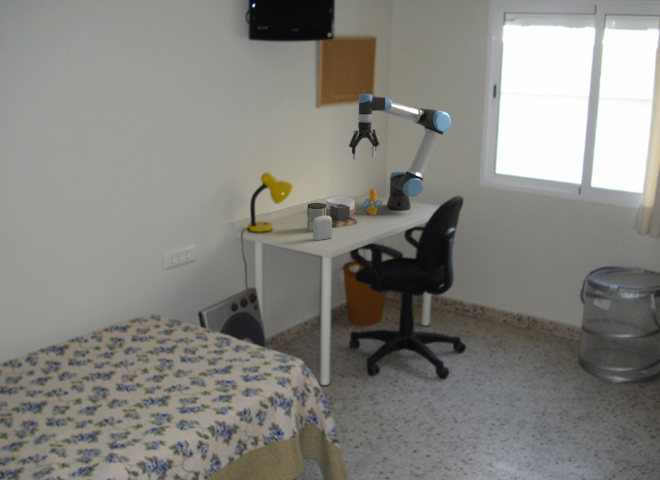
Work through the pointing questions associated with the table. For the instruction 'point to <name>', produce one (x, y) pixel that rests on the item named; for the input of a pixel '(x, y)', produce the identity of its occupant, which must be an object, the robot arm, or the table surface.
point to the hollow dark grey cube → (340, 212)
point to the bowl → (340, 200)
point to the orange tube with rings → (372, 203)
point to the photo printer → (322, 228)
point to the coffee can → (315, 213)
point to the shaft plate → (344, 222)
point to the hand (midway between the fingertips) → (363, 158)
